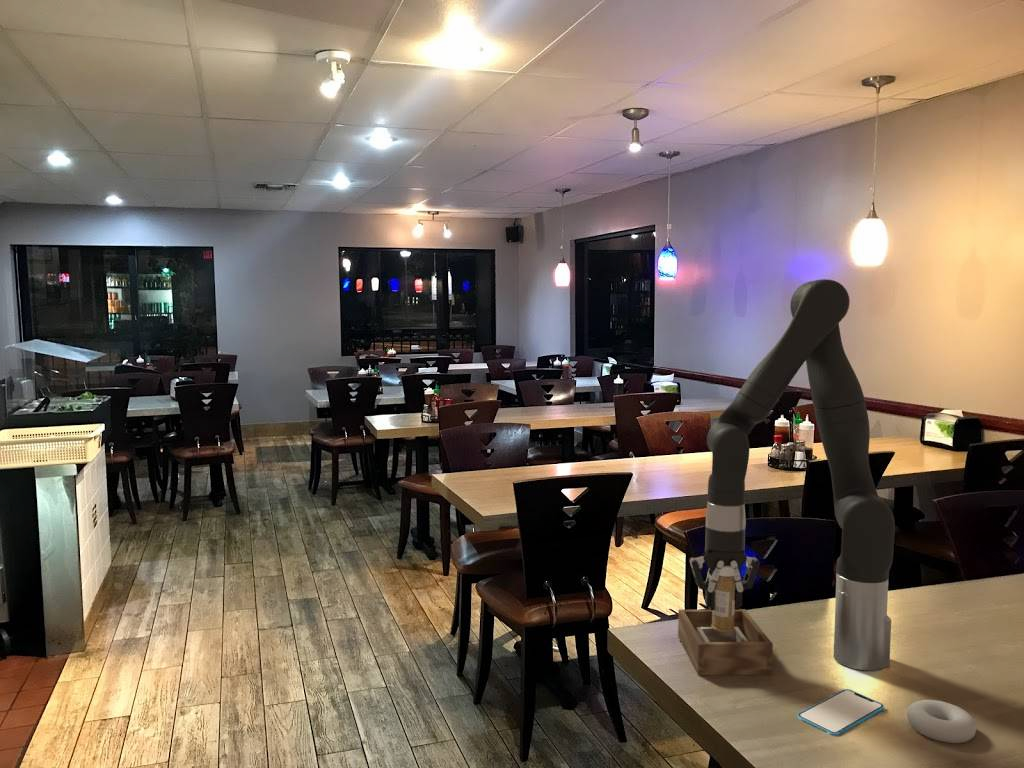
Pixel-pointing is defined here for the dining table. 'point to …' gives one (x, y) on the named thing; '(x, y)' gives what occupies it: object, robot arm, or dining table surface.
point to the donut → (941, 721)
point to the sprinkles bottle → (724, 601)
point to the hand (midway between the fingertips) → (723, 608)
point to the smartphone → (841, 712)
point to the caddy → (725, 645)
